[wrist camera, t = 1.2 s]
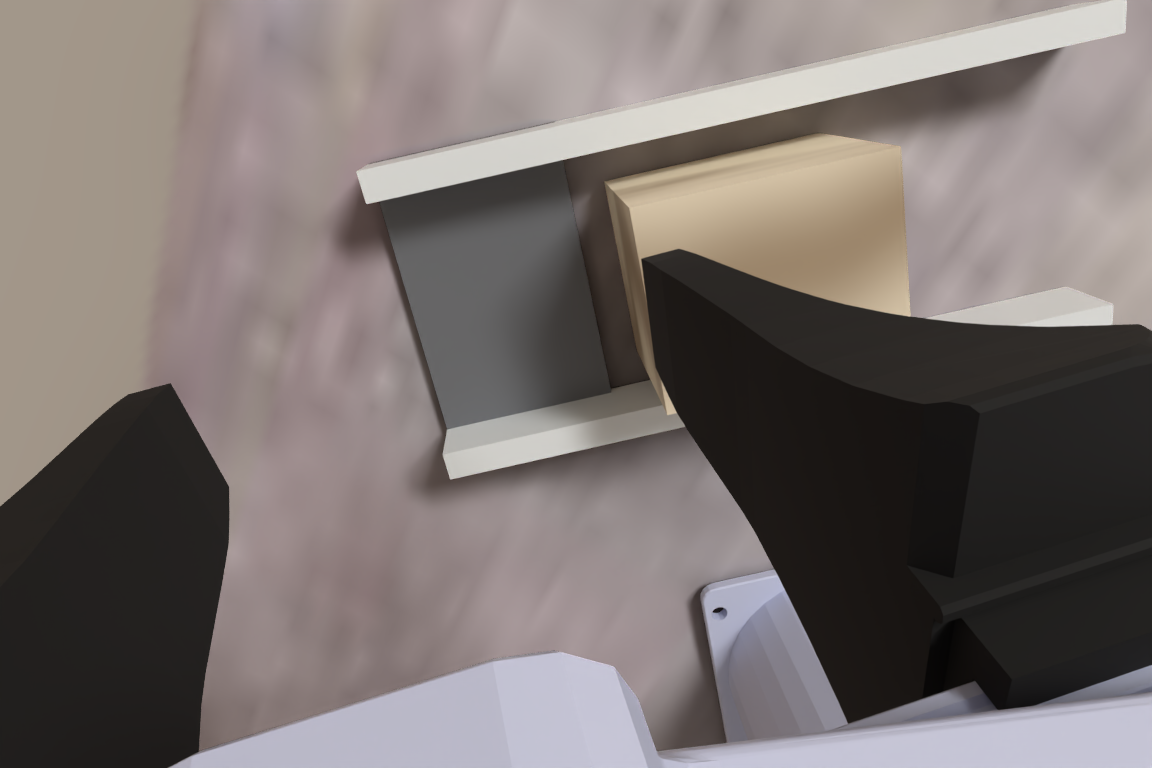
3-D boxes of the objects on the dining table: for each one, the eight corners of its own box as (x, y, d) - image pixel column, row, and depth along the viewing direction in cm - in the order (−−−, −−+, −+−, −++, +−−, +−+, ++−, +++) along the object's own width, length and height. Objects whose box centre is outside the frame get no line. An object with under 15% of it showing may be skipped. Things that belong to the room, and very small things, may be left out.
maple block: (833, 304, 24) (912, 359, 19) (636, 349, 24) (667, 415, 19) (817, 132, 22) (901, 146, 17) (603, 180, 22) (629, 208, 17)
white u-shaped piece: (1065, 311, 24) (1111, 331, 22) (455, 448, 24) (450, 479, 22) (1072, 4, 21) (1127, -3, 19) (369, 163, 21) (356, 171, 19)
